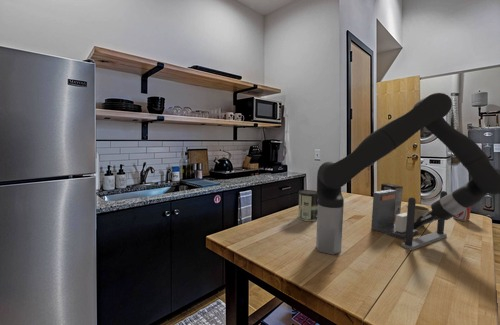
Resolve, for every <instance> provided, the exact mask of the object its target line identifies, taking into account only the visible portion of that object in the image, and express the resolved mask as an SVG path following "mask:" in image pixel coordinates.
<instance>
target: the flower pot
mask: <svg viewBox="0 0 500 325" xmlns="http://www.w3.org/2000/svg"><path fill="white" fill-rule="evenodd" d="M406 208H407V210H408V205H406ZM428 211H430V208H428V207H426V206H422V205H417V204H415V216H414V223H415V222H417V221H416V220H417V219H418V218H419V217H420V216H423V215H424V214H425V213H426V212H428ZM424 226H425V225H423V226H420V227H421V228H422V227H424ZM420 227H419V228H420Z"/></svg>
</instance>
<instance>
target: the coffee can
mask: <svg viewBox="0 0 500 325" xmlns="http://www.w3.org/2000/svg"><path fill="white" fill-rule="evenodd" d="M317 213H318V197H317V190H313V189H302V190H299V191H298V219H299V220H301V221H303V222H304V221H305V222H317Z"/></svg>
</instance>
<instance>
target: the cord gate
mask: <svg viewBox="0 0 500 325" xmlns="http://www.w3.org/2000/svg"><path fill="white" fill-rule="evenodd" d="M446 195H448V192H447V191H444V190H442V191H440V193H439V199H441V198H442V197H444V196H446ZM407 199H408V200H407V206H408V209H407V212H406V213H407V223H406V236H405V238H404V239H405V240H404V242H401V245H400V247H403V248H405V249H407V250H411V251H413V250H416V249H418V248H420V247H424V246H426V245H429V244H432V243H435V242H437V241H439V240H442V239H444V238H447V237H448V236H447V235H448V234H447V233H444V231H445V224H446V223H445V222H446V220H442V219H438V220H437V224H436V231H433V232H430V233H427V234H424V235H421V236H418V237H416V238H414V235H413V228H414V216H415V205H416V202H417V200H416V198H414V197H413V196H411V197H409V198H407Z"/></svg>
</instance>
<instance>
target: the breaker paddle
mask: <svg viewBox="0 0 500 325" xmlns="http://www.w3.org/2000/svg"><path fill="white" fill-rule="evenodd" d="M394 223H395V231H398V232H401V233H402V232H405V231H406V223H407V212H403V213H400V214H398V215H395V218H394Z"/></svg>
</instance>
